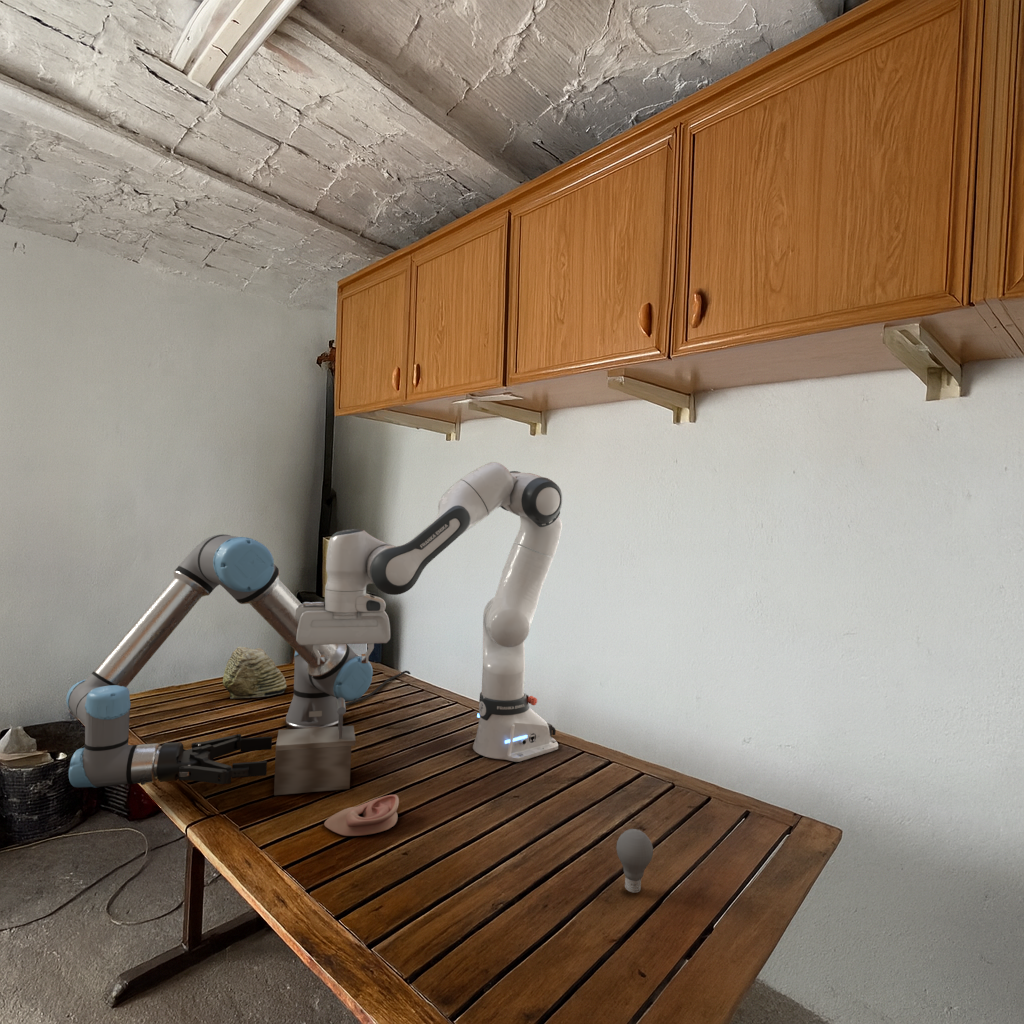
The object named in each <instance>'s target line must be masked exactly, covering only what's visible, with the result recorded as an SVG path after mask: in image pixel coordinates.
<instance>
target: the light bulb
mask: <svg viewBox="0 0 1024 1024" xmlns="http://www.w3.org/2000/svg"><path fill="white" fill-rule="evenodd" d="M615 849H616V854H617V857H618V859H619V861H620V863H621V865H622V867H623V873H624V874H623V875H624V876H625V878H624V888H625V890H627V891H628V892H630V893H634V894H635V893H639V892H640V891H641V889H642V887H641V886H642V879H643V877H644V875H645V871H646V868H647V867H648V866H649V864H650V863H651V861H652V859H653V855H654V847H653V843H652V841H651V838H649V836H648V835H647V834H646V833H645V832H643V831H642V830H641V829H636V828H629V829H627V830H625V831H623V832H622V833H621V834H620V835H619V837H618V839H617V841H616V847H615Z"/></svg>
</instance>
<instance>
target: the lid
mask: <svg viewBox="0 0 1024 1024" xmlns="http://www.w3.org/2000/svg"><path fill="white" fill-rule="evenodd" d="M336 703H337V713H338V714H339V717H338V726H337V727H321V728H304V729H289V728H287V729H278V731H277V739H276V743H275V752H276V751H281V750H296V749H311V748H325V747H340V746H351V747H353V746H356V733H355V726H354V725H344V715H345V714H346V713H347V708H346V707H347V706H345V703H346V701H345V700H344V698H338V699H337V701H336Z"/></svg>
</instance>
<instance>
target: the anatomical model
mask: <svg viewBox="0 0 1024 1024" xmlns="http://www.w3.org/2000/svg"><path fill="white" fill-rule="evenodd" d="M399 804H400V798H399V795H397V794H389V795H384V796H380V797H377V798H375V799H372V800H369V801H367V802H365V803H362V804H359V805H357V806H352V807H351V806H350V807H346V808H344V809H341V810H340V811H338V812H336V813H334V814H333V815H331V816H329V817H328V818H327V819H326V820H325V821H324V822H323V823H324V827H325V828H327V829H328V830H329V831H331V832H333V833H335V834H337V835H339V836H343V837H359V836H367V835H368V836H369V835H374V834H377V833H382V832H384V831H387V830H390V829H391V828H392V827H394V826H395V825H396V824H397V822H398V818H399V817H398V812H397V811H398V808H399Z"/></svg>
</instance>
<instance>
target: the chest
mask: <svg viewBox="0 0 1024 1024" xmlns="http://www.w3.org/2000/svg"><path fill="white" fill-rule="evenodd" d="M351 762H352V746H340V747H325V748H311V749H296V750H281V751H276V750H275V758H274V784H273V785H274V786H273V796H284V795H295V794H306V793H318V792H329V791H340V790H343V791H344V790H350V788H351V767H352V766H351V764H352V763H351Z"/></svg>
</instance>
